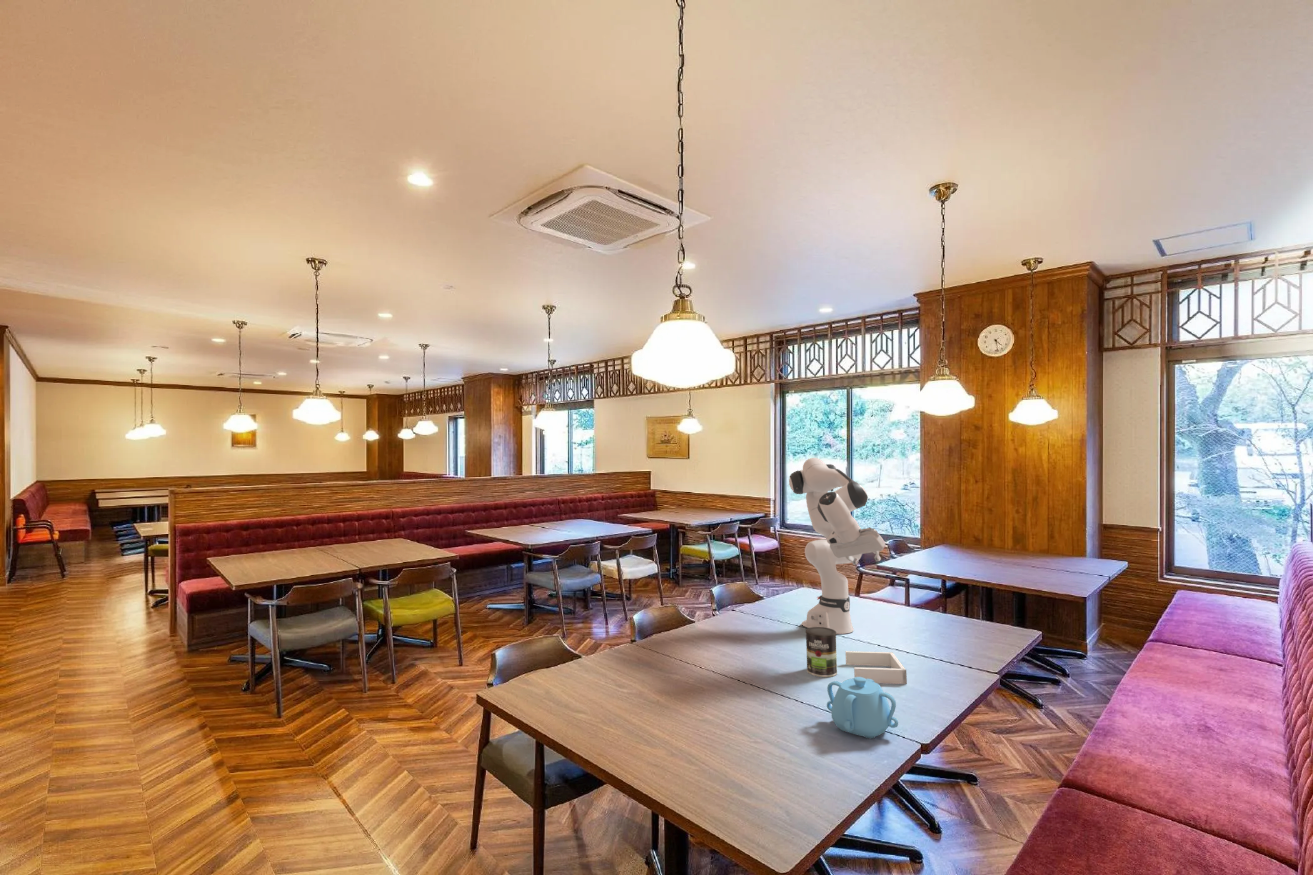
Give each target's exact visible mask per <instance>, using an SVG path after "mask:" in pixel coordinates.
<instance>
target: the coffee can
mask: <svg viewBox="0 0 1313 875" xmlns="http://www.w3.org/2000/svg"><path fill="white" fill-rule="evenodd" d="M805 640H806V643H805V646H806V647H805V648H806V673H808V674H809V675H811V676H813V677H819V678H831V677H832V678H833V677H835V676H837V675H838V664H837V662H838V660H837V659H838V658H837V634H836V631H835V630H833V629H830V628H825V627H811V628H806V629H805Z"/></svg>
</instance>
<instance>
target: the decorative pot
mask: <svg viewBox="0 0 1313 875" xmlns="http://www.w3.org/2000/svg"><path fill="white" fill-rule="evenodd" d="M833 686H837V687H838V689H837V690H836V693H835V694H834V692H833ZM826 689H827V694H828V697H829V700H828V701H827V703H826V708H827V709H828V711H829V712H831V719H832V721H833V723H834V724H835V726H836V727H837V728H838V729H840V731H842V732H844V731H846V732H845V733H849V734H853V735H856V736H860V737H864V736H865V737H864V738H866V739H868V738H873V739H875V738H874V737H877V736H880V735H882V734H884V733H885V732H886V731H887V730H888V729H889V728H892V729H894V728H897V727H898V726H899V719H897V718H896V717H894V714H895V711H896V708H897V703H896V699H895V697H894V696H893V695H891V694H890V693H888V692H885V691H884V690H883V688H882V687H881V685H880V683H875V682H874V681H873V680H872V679H865V678H862V677H853V678H849V679H846V680H844V681H843V682H842V681H841V682H840V681H839V680H834V681H830V682H829V683H828V684H827V688H826ZM889 701H890V704H891V706H890V704H889ZM892 721H893V722H892Z"/></svg>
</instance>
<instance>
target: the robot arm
mask: <svg viewBox="0 0 1313 875" xmlns="http://www.w3.org/2000/svg"><path fill="white" fill-rule="evenodd" d="M788 480H789V481H788V485H789V487H790V489H791V490H792V492H793V493H794V494H796V495H803V494H806V495H805V498H806V499H805V501H806V507H807V511H808V515H809V518H810V519H809V520H810V523H811V525H812V526H811V527H812V528H813V530H814V531H815V532H816V533H817V534H820V535H821V536H823V537H824V538H823V539H815V540H812V541H809V542H808V543H807V544H806V546H805V548H804V555H805V558H806V560H807V562H808V563H809V564H811V565H812V566H813V567H814V568H815V569H816V570H817V572H818V575H819V578H820V584H821V595H819V596H817V597H816V598H817V599H816V600H818V603H817V604H816V605H814V606H812V608H810V609H809V610H808V611H807V613H806V620H803V621H801V624H800V625H801V626H802V625H803V627H805V628H806V629H808V628H811V627H825V628H830V629H833V630H835V631H836V635H840V634H841V635H842V634H843V635H844V634H851V633H852V632H854V631H855V629H854V626H853V623H852V618H851V612H850V608H851V600H850V598H851V597H850V596H849V580H848V578H847V577H846V576H845V575H844V574H843V573H841V572H839V571H838V569H837V565H842V564H843V565H844V564H851V563H852V564H853V566H855V565H858V564H859V560H861V558H862V556H863V554H870V553H873V554H874V556H873V559H874V560H875V562H880V561H881V560H882V557H881V556H880V552H881V551H883V550H884V549H885V546H886V542H885V540H884V539H883V537H882V536H881V535H880V534H879V532H878V530H876V529H875V528H872V527H867V528H862V527H860V525H859V522H858V521H857V520H856V519H855V517H853V515H852V514H851V513H852V512H853V511H856V510H858V509H860V508H863V507H865V506H866V505H867V503H868V498H869V497H868V496H869V495H868V493H867V491H866V490H865V488H864V487H863V485H861V484H860V483H858V482H857V481H855V480H853V479H852V478H851V477H850V476H848V475H847V474H846V473H844V471H843V470H840V469H839V468H837V467H836V466H835V465H834V464H831V463H829V464H827V463H825V462H824V461H823V460H821V459H820V458H818V457H811V458H808V459H807V460H805V462H804V463H803V464H802V469H801V470H796V471H794V472H792V473H791V474H790V475H789V479H788ZM834 489H837V490H835V491H834Z"/></svg>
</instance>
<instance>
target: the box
mask: <svg viewBox="0 0 1313 875" xmlns="http://www.w3.org/2000/svg"><path fill="white" fill-rule="evenodd" d="M845 665H846V666H854V667H853V669H854V670H853V671H854V672H853V673H854V677H853V678H855V677H862V678H865V679H872V680H873V681H874V682H875V683H877V684H888V685H889V684H891V685H895V684H896V685H907V684H908V678H907V675H908V673H907V668H905V667H904V665H903V664H902V662H900V660H899V659H898V657H897V656H896V655H895V654H894V652H892V651H891V652H890V651H889V652H888V651H858V650H857V651H856V650H855V651H854V650H852V651H851V650H845ZM856 666H865V667H856ZM868 666H871V667H868ZM875 666H876V667H875ZM882 667H883V668H882ZM886 667H889V668H886Z"/></svg>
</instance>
